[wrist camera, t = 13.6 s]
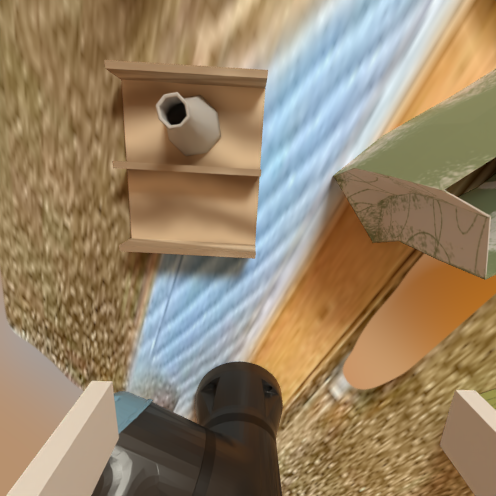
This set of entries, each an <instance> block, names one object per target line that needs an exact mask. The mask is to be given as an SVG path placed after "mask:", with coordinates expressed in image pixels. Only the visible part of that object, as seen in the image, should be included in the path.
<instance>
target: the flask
mask: <svg viewBox="0 0 496 496" xmlns="http://www.w3.org/2000/svg"><path fill="white" fill-rule="evenodd" d="M156 109H157V114H158V119H159V120H160V121H161V122H162V123H163V124H164V125H165V126H166V128H167V132H168V137H169V140H170V141H171V142H172V143H173V144H174V145H175V146H176V147H177V148H178V149H179V150H180V151H181V152H182V153H183V154H184V155H185V156H190V155H196V154H203V153H207V152H208V151H209V150H210V149H211V148H212V146H213V145H214V144H215V143H216V142H217V141H218V140H219V139H220V138H221V131H220V124H219V118H218V113H217V111H216V110H215V109H214V108H213V107H212V106H211V105H210V104H209V103H208V102H207V101H206V100H205V99H204V98H203V97H202V96H201V95H198V96H192V97H186V98H183V97H182V96H181V95H180V94H179V93H178V92H175V93H169V94H164V95H163V96H162V97H161V99H160V100H159V101H158V102H157V104H156Z"/></svg>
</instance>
